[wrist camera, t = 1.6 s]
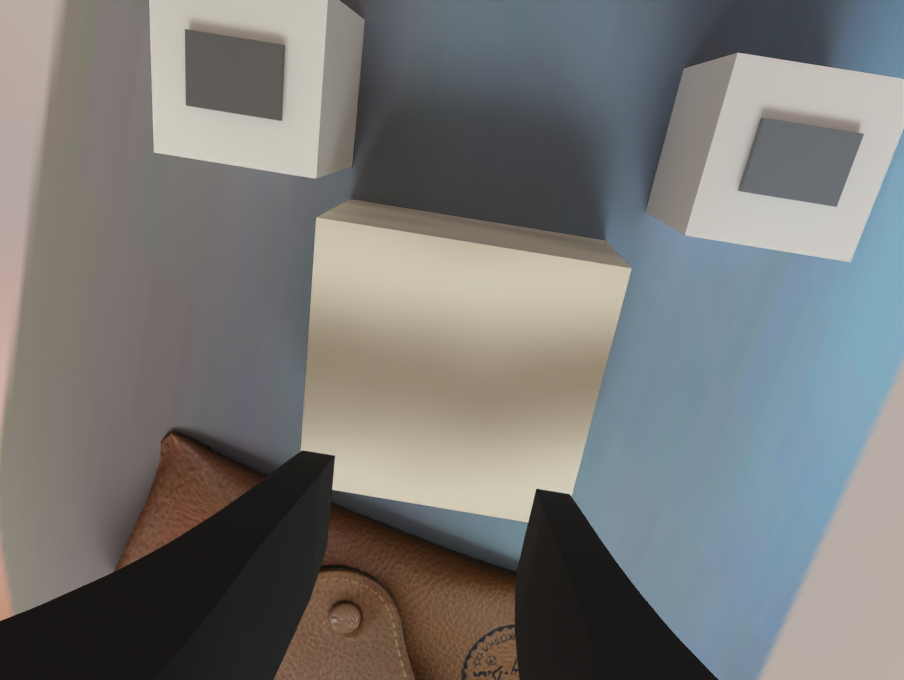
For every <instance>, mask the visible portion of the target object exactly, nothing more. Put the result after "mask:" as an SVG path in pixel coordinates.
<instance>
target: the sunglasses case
mask: <svg viewBox="0 0 904 680" xmlns="http://www.w3.org/2000/svg"><path fill="white" fill-rule="evenodd" d="M160 454H161V457H160V458H161V462H160V463H159V468H158V470H157V473H156V476H155V480H154V482H153V485H152V488H151V492H150V494H149V497H148V499H147V501H146V503H145V506H144V508H143V510H142V512H141V514H140V517H139V519H138V521H137V524H136V526H135V528H134V530H133V533H132V534H131V536H130V539H129V541H128V542H127V544H126V547H125V549H124V551H123V554H122V556H121V558H120V560H119V562H118V564H117V566H116V569H115V571H117V570H119V569H121V568H123V567H125V566H127V565H129V564H130V563H132V562H134V561H136V560H138V559H140V558H142V557H144V556H146V555H148V554H150V553H151V552H153V551H155V550H157V549H159V548H160V547H162V546H164V545H166V544H167V543H169V542H171V541H173V540H174V539H176V538H178V537H179V536H181V535H182V534H184V533H186V532H187V531H189V530H190V529H192V528H193V527H195V526H197V525H198V524H200V523H201V522H203V521H204V520H206V519H207V518H209V517H211V516H212V515H214V514H215V513H217V512H218V511H220V510H221V509H223V508H224V507H225V506H227V505H228V504H230V503H231V502H232V501H234V500H235V499H237V498H238V497H240V496H241V495H242V494H244V493H245V492H247V491H248V490H249V489H251V488H252V487H254V486H255V485H256V484H258V483H259V482H260V481H262V480H263V479H264V478H266V476H264V475H262V474H260V473H258V472H256V471H254V470H252V469H250V468H248V467H246V466H244V465H242V464H239V463H237V462H235V461H233V460H231V459H229V458H226V457H224V456H222V455H220V454H219V453H216V452H215V451H213V450H212V449H211V448H210V447H208V446H206V445H205V444H202V443H200V442H198V441H195V440H193V439H191V438H188V437H185V436H183V435H180V434H177V433H175V432H171V433H170V434H168V435H166V436H165V437H164V438H163V440H162V441H161V453H160ZM115 571H114V572H115ZM516 573H517V572H513V571H510V570H507V569H503V568H500V567H497V566H495V565H492V564H489V563H486V562H484V561H481V560H477V559H474V558H471V557H469V556H466V555H463V554H460V553H457V552H454V551H452V550H449V549H446V548H444V547H441V546H439V545H436V544H433V543H431V542H429V541H427V540H424V539H421V538H419V537H416V536H413V535H410V534H407V533H405V532H403V531H401V530H398V529H395V528H392V527H390V526H387V525H385V524H382V523H380V522H378V521H374V520H372V519H370V518H368V517H365V516H361V515H359V514H356V513H354V512H352V511H349V510H347V509H345V508H343V507H340V506H337V505H335V504H333V503H331V508H330V520H329V531H328V543H327V548H326V551H325V555H324V558H323V561H322V564H321V568H320V571H319V574H318V577H317V580H316V583H315V586H314V589H313V592H312V595H311V598H310V600H309V603H308V605H307V607H306V609H305V612H304V614H303V616H302V618H301V621H300V623H299V625H298V627H297V629H296V632H295V634H294V636H293V638H292V641H291V643H290V645H289V647H288V649H287V652H286V654H285V656H284V658H283V660H282V663H281V665H280V667H279V669H278V671H277V674H276V676H275V678H274V680H519V672H518V661H517V651H516V640H515V581H516Z"/></svg>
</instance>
